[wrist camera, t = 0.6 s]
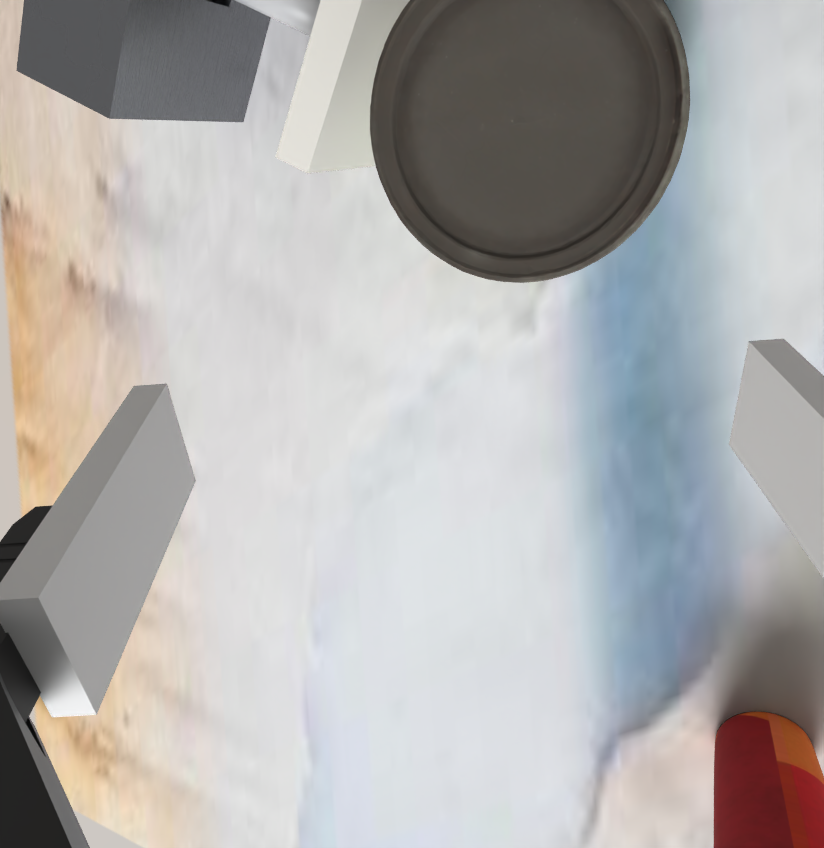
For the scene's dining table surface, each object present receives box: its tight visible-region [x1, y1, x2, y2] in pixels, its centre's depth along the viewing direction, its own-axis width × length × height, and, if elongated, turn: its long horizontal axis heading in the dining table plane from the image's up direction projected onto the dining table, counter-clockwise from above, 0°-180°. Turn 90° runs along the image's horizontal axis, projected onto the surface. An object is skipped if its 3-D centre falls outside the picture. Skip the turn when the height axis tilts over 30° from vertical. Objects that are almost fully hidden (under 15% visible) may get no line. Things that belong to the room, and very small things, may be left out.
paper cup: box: [714, 712, 824, 848], centre depth 38 cm, size 8×8×14 cm
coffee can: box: [370, 0, 690, 283], centre depth 29 cm, size 10×10×14 cm
